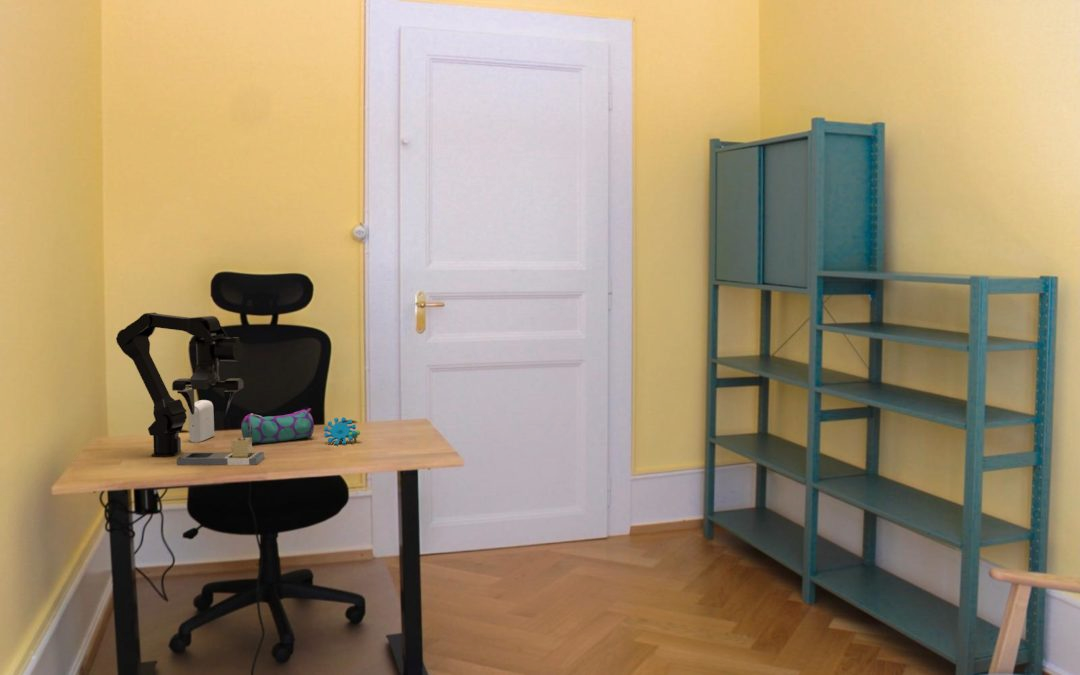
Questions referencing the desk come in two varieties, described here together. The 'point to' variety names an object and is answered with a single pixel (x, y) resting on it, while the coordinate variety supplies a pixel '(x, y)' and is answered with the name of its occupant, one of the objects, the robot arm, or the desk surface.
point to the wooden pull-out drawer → (241, 447)
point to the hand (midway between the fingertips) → (209, 414)
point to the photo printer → (201, 421)
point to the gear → (341, 431)
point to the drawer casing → (218, 458)
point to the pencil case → (278, 427)
